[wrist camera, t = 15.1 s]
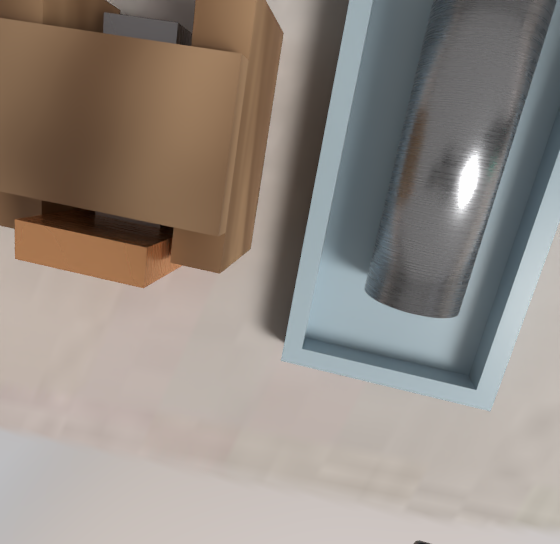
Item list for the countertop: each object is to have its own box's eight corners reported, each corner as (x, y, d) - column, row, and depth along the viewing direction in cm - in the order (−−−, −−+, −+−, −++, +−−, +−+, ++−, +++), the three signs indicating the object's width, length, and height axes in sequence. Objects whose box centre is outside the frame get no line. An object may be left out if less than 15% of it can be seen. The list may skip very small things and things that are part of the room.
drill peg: (560, -80, 14) (628, -161, 10) (448, 294, 17) (470, 326, 14) (450, -90, 14) (479, -171, 11) (363, 277, 18) (365, 303, 14)
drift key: (229, 48, 17) (167, -9, 11) (204, 252, 19) (143, 288, 14) (120, 32, 17) (11, -29, 12) (110, 232, 20) (15, 258, 14)
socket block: (283, 33, 16) (251, -26, 11) (250, 248, 19) (212, 279, 14) (79, 4, 18) (-33, -60, 13) (73, 212, 20) (-22, 228, 15)
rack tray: (648, -98, 14) (687, -133, 12) (478, 389, 19) (490, 411, 17) (376, -122, 15) (378, -157, 13) (287, 344, 20) (281, 360, 18)
